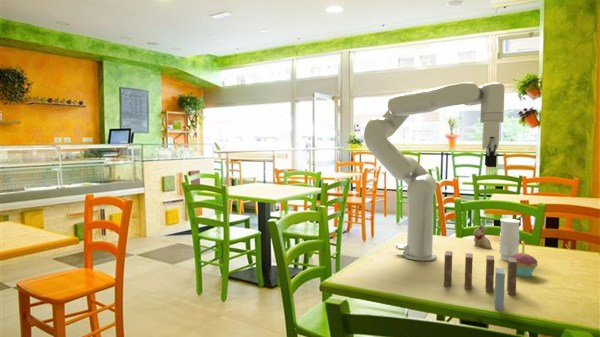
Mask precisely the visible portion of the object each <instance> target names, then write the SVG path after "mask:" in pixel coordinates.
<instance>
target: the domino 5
mask: <svg viewBox="0 0 600 337" xmlns="http://www.w3.org/2000/svg"><path fill="white" fill-rule="evenodd" d="M506 275H507V278H506V291H507V295H508V296H513V297H514V296H515V297H516V295H517V276H518V275H517V261H516V258H511V257H508V261H507V274H506Z"/></svg>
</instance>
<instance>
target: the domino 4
mask: <svg viewBox="0 0 600 337" xmlns="http://www.w3.org/2000/svg"><path fill="white" fill-rule="evenodd" d="M505 278H506V272H505V269H504V268H501V267H495V273H494V309H495V310H498V309H500V310H499V311H504V309H505V308H504V307H505V306H504V305H505V284H506V283H505V282H506V281H505V280H506V279H505Z"/></svg>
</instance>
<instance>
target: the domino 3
mask: <svg viewBox="0 0 600 337" xmlns="http://www.w3.org/2000/svg"><path fill="white" fill-rule="evenodd" d="M485 265H486V266H485V292H486V293H492V294H493V293H494V286H495V256H494V255H492V254H491V255H489V254H486V264H485Z"/></svg>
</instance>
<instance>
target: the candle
mask: <svg viewBox="0 0 600 337" xmlns="http://www.w3.org/2000/svg"><path fill="white" fill-rule="evenodd" d="M520 223H521V221H520V220H519V219H514V218H500V233H499V240H498V241H499V242H498V243H499V249H498V254H500V256H499V258H500V260H503V261H507V262H508V257H511V256H513V255H514V254H519V247H520Z"/></svg>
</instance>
